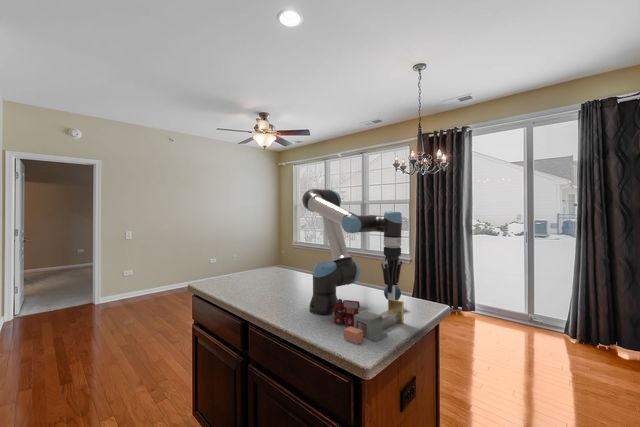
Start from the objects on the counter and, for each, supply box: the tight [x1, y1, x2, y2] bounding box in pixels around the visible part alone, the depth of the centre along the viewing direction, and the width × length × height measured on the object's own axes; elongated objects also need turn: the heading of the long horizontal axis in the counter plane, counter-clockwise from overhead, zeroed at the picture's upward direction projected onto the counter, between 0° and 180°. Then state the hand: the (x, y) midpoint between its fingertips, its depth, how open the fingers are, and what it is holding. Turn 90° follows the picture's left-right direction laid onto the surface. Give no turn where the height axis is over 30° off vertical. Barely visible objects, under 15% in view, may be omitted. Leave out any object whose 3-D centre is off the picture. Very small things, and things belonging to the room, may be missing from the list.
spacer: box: [343, 326, 364, 345], centre depth 108 cm, size 4×6×4 cm
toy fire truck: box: [331, 298, 360, 327], centre depth 125 cm, size 7×12×10 cm, turn 65°
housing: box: [353, 310, 388, 342], centre depth 114 cm, size 8×13×7 cm, turn 41°
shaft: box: [358, 299, 405, 338], centre depth 119 cm, size 24×7×9 cm, turn 131°
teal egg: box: [383, 285, 402, 301], centre depth 144 cm, size 8×8×12 cm
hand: (391, 299), depth 126 cm, fingers closed
